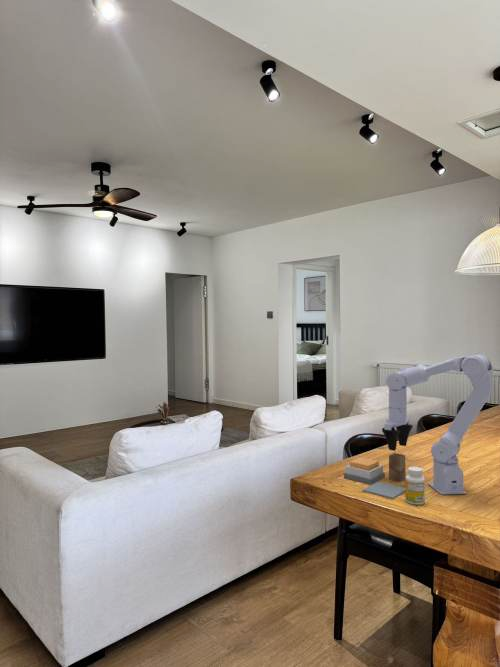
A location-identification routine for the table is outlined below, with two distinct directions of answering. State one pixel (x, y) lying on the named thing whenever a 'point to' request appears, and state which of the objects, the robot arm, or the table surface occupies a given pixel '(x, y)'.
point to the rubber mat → (385, 490)
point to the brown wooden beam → (397, 467)
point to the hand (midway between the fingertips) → (397, 447)
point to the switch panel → (364, 474)
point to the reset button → (364, 463)
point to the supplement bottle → (415, 486)
